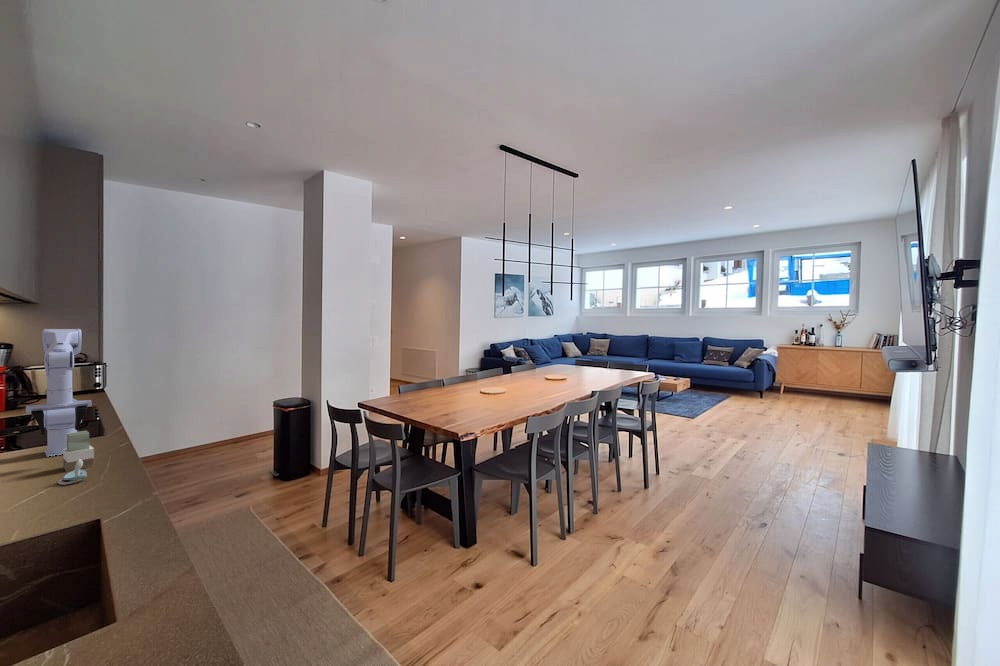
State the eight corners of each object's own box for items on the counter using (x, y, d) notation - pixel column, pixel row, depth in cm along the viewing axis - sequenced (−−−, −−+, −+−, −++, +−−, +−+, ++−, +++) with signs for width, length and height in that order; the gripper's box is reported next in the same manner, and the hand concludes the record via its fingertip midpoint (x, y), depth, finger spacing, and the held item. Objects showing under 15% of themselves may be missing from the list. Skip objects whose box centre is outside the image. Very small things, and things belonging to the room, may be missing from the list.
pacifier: (58, 488, 118) (88, 482, 123) (56, 466, 118) (86, 460, 122) (57, 481, 123) (86, 475, 128) (56, 460, 123) (85, 454, 127)
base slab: (63, 468, 134) (63, 458, 134) (89, 463, 139) (89, 454, 139) (65, 472, 130) (65, 462, 130) (92, 467, 135) (92, 458, 135)
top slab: (63, 458, 134) (63, 449, 134) (89, 454, 139) (89, 445, 139) (67, 462, 131) (67, 452, 130) (93, 457, 135) (93, 448, 135)
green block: (66, 449, 134) (66, 433, 134) (86, 446, 138) (86, 430, 138) (69, 452, 131) (69, 435, 131) (89, 448, 135) (89, 432, 135)
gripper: (27, 393, 128) (27, 438, 129) (93, 388, 140) (93, 429, 140) (25, 391, 133) (25, 434, 133) (89, 386, 144) (89, 426, 144)
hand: (60, 431), depth 137 cm, fingers open, 7 cm apart
